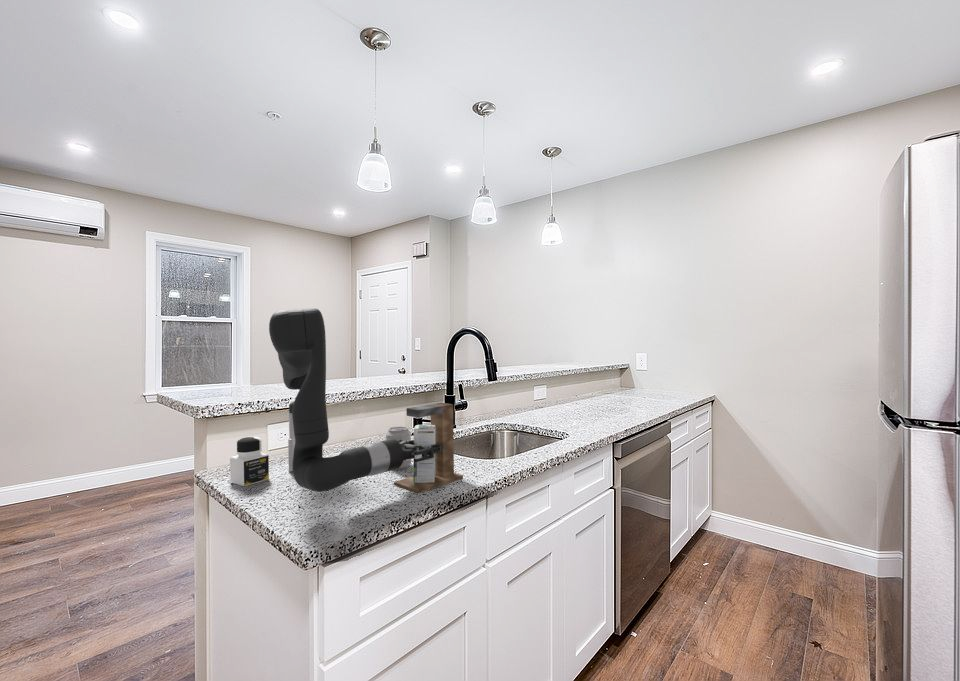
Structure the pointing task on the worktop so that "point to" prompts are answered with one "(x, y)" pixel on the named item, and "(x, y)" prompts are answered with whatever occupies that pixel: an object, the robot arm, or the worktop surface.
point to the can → (400, 434)
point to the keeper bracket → (443, 436)
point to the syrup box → (426, 468)
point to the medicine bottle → (249, 463)
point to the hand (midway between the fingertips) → (429, 444)
